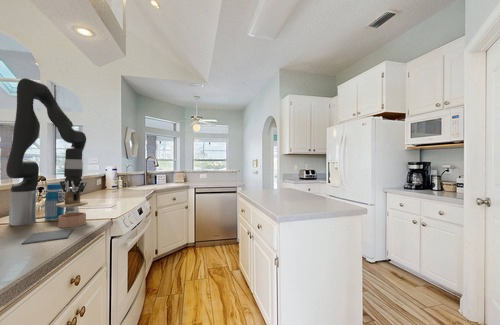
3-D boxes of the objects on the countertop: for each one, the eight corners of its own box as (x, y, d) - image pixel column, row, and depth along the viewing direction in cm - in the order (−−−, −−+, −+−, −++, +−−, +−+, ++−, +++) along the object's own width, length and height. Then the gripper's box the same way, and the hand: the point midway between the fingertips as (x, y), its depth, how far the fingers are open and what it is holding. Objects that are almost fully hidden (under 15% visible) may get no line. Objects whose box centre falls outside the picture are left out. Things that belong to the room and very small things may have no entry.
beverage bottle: (44, 221, 119) (45, 185, 119) (44, 218, 124) (44, 183, 124) (65, 218, 125) (65, 184, 125) (63, 216, 130) (63, 183, 130)
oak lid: (48, 206, 108) (49, 193, 108) (72, 201, 121) (72, 189, 121) (72, 207, 107) (72, 194, 107) (93, 203, 120) (94, 190, 120)
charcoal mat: (21, 244, 86) (21, 243, 86) (32, 234, 98) (32, 233, 98) (67, 238, 93) (67, 237, 93) (72, 229, 105) (72, 228, 105)
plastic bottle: (73, 219, 122) (73, 184, 122) (61, 219, 122) (61, 184, 122) (82, 217, 129) (82, 183, 129) (70, 216, 129) (71, 183, 129)
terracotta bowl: (52, 226, 109) (52, 216, 109) (72, 221, 120) (72, 212, 120) (72, 227, 108) (72, 217, 108) (90, 221, 119) (91, 212, 119)
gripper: (54, 167, 111) (53, 201, 111) (79, 168, 110) (78, 202, 110) (68, 167, 119) (67, 198, 119) (91, 168, 117) (90, 200, 117)
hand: (72, 200), depth 114 cm, fingers closed on oak lid, 3 cm apart
